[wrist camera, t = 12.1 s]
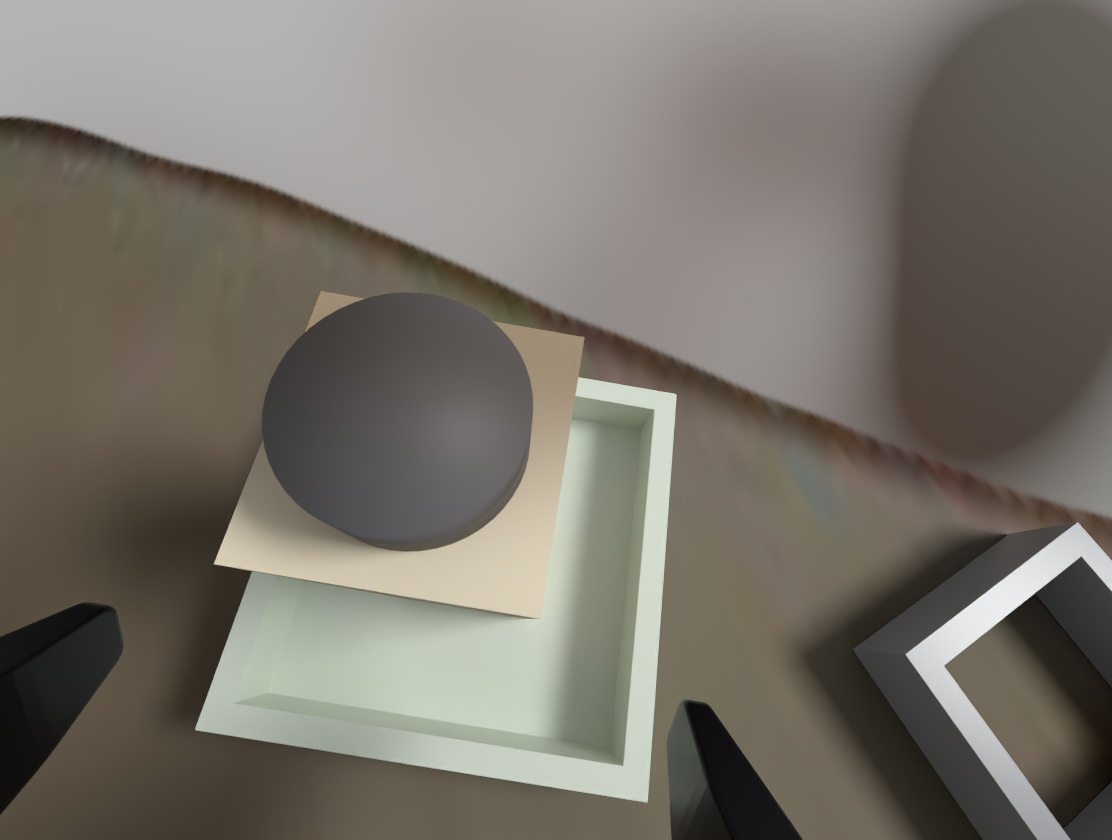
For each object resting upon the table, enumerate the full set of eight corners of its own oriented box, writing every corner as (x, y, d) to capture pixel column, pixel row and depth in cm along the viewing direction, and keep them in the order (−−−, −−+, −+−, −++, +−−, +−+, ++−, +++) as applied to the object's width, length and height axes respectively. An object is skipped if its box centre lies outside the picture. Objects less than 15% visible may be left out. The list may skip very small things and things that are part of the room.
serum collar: (1031, 910, 15) (1126, 964, 13) (852, 649, 17) (905, 654, 15) (1188, 750, 17) (1296, 771, 14) (1009, 534, 19) (1077, 522, 17)
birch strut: (524, 618, 16) (546, 619, 5) (399, 597, 16) (146, 551, 5) (544, 496, 18) (595, 289, 7) (430, 477, 18) (287, 235, 7)
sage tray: (627, 774, 15) (647, 802, 13) (243, 712, 15) (194, 730, 13) (657, 420, 20) (676, 394, 17) (358, 369, 19) (337, 335, 17)
